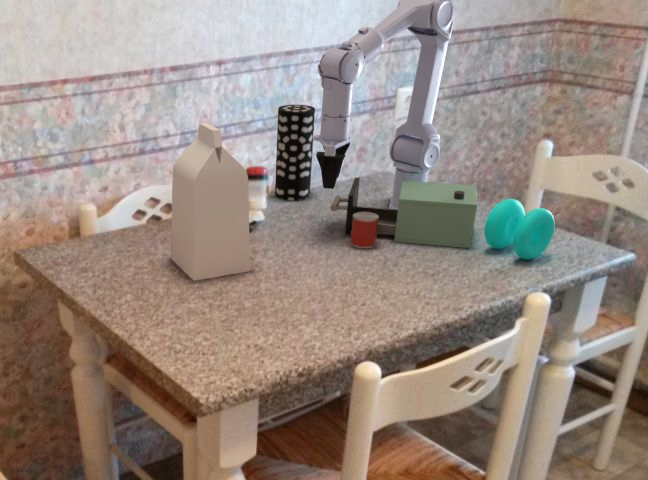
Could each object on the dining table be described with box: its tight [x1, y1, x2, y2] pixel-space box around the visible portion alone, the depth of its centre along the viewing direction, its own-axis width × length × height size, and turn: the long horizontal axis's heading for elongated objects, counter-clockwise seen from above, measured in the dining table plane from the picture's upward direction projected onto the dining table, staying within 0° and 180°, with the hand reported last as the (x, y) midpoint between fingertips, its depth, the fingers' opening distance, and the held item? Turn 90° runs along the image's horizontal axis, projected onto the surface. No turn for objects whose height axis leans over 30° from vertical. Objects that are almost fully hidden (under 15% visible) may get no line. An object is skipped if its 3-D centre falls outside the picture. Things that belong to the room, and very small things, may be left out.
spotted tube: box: [274, 104, 316, 201], centre depth 189 cm, size 8×8×20 cm
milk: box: [170, 122, 251, 282], centre depth 150 cm, size 12×12×26 cm
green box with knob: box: [393, 181, 478, 249], centre depth 168 cm, size 13×15×10 cm
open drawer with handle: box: [330, 177, 398, 236], centre depth 171 cm, size 13×18×8 cm
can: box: [350, 212, 379, 250], centre depth 164 cm, size 5×5×6 cm
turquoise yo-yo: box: [483, 198, 556, 261], centre depth 159 cm, size 10×10×10 cm
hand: (331, 182), depth 167 cm, fingers open, 7 cm apart
